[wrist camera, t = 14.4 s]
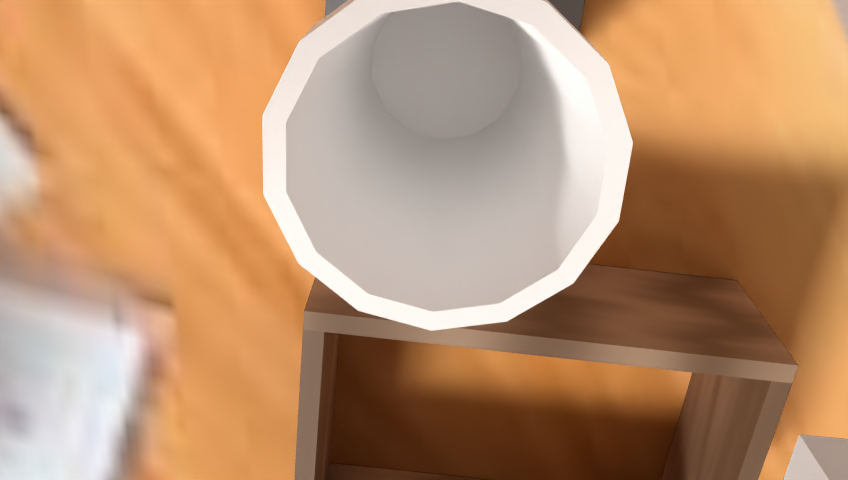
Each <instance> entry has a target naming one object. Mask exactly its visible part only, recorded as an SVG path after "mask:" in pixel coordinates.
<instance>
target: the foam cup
mask: <svg viewBox="0 0 848 480" xmlns="http://www.w3.org/2000/svg"><path fill="white" fill-rule="evenodd" d="M262 129H263V195H264V197H265V199H266V201H267V203H268V205H269V207H270V209H271V211H272V213H273V215H274V216H275V218H276V220H277V222H278V224H279V226H280V228H281V230H282V232H283V234H284V236H285V238H286V240H287V242H288V244H289V246H290V248H291V250H292V252H293V254H294V256H295V258H296V260H297V262H298V263H299V264H300V265H301V266H302V267H304V268H305V269H306V270H307V271H309V272H310V273H311V274H312V275H314V276H315V277H316V278H318V279H319V280H320V281H321V282H323V283H324V284H325V285H326V286H328V287H329V288H330V289H331V290H333V291H334V292H335V293H336V294H338V295H339V296H340V297H341V298H343V299H344V300H345V301H346V302H348V303H349V304H350V305H352V306H353V307H354V308H355V309H357V310H358V311H361V312H365V313H368V314H372V315H376V316H379V317H383V318H387V319H390V320H394V321H397V322H401V323H405V324H408V325H412V326H416V327H419V328H423V329H427V330H430V331H434V330H442V329H450V328H458V327H466V326H474V325H482V324H491V323H499V322H507V321H509V320H510V319H512V318H514V317H516V316H517V315H519V314H521V313H523V312H524V311H526V310H528V309H530V308H531V307H533V306H535V305H537V304H538V303H540V302H542V301H544V300H545V299H547V298H549V297H551V296H552V295H554V294H556V293H558V292H559V291H561V290H563V289H565V288H566V287H568V286H570V285H572V284H573V283H574V282H575V281H576V279H577V278H578V276H579V275H580V274H581V272H582V271H583V270H584V268H585V267H586V265H587V264H588V263H589V261H590V260H591V259H592V257H593V256H594V255H595V253H596V252H597V250H598V249H599V248H600V246H601V245H602V244H603V242H604V241H605V239H606V238H607V237H608V235H609V234H610V233H611V231H612V230H613V228H614V227H615V226H616V224H617V223H618V222H619V218H620V213H621V207H622V202H623V196H624V190H625V185H626V179H627V174H628V168H629V163H630V157H631V152H632V146H633V141H632V138H631V135H630V131H629V128H628V125H627V122H626V118H625V115H624V112H623V109H622V105H621V102H620V99H619V96H618V93H617V89H616V86H615V83H614V80H613V76H612V73H611V70H610V67H609V64H608V63H607V61H606V60H605V59H604V58H603V57H602V56H601V54H600V53H599V52H598V51H597V50H596V49H595V47H594V46H593V45H592V44H591V43H590V42H589V41H588V40H587V39H586V38H585V37H584V36H583V35H582V34H581V33H580V32H579V31H578V30H577V29H576V28H575V27H574V26H573V25H572V24H571V23H570V22H569V21H568V20H567V19H566V18H565V17H564V16H563V15H562V14H561V13H560V12H559V11H558V10H557V9H556V8H555V7H554V6H553V5H552V4H551V3H550V2H549V1H548V0H348V1H346V2H345V3H344V4H342V5H341V6H339V7H338V8H337V9H335V10H334V11H333V12H331V13H330V14H329V15H327V16H326V17H325V18H323V19H322V20H320V21H319V22H318V23H316V24H315V25H314V26H313V27H312V28H311V29H310V30H309V31H308V32H307V33H306V34H305V36H304V37H303V38H302V39H301V40H300V41H299V43H298V45H297V47H296V49H295V51H294V53H293V55H292V57H291V59H290V61H289V63H288V65H287V67H286V69H285V71H284V73H283V75H282V77H281V79H280V81H279V83H278V85H277V87H276V89H275V91H274V93H273V95H272V97H271V99H270V101H269V103H268V105H267V107H266V109H265V111H264V113H263V115H262Z"/></svg>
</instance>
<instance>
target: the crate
mask: <svg viewBox="0 0 848 480" xmlns="http://www.w3.org/2000/svg"><path fill="white" fill-rule="evenodd" d="M340 334H347V335H356V336H365V337H375V338H384V339H393V340H402V341H411V342H420V343H429V344H438V345H447V346H457V347H466V348H475V349H484V350H493V351H502V352H511V353H520V354H529V355H539V356H548V357H557V358H566V359H575V360H584V361H593V362H602V363H611V364H621V365H630V366H639V367H648V368H657V369H666V370H675V371H684V372H693V373H692V376H691V380H690V383H689V386H688V390H687V393H686V397H685V400H684V404H683V407H682V410H681V414H680V417H679V421H678V424H677V427H676V431H675V434H674V438H673V441H672V444H671V448H670V451H669V455H668V458H667V461H666V465H665V468H664V472H663V475H662V479H661V480H758V478H759V475H760V472H761V469H762V467H763V464H764V461H765V458H766V455H767V453H768V450H769V447H770V444H771V441H772V439H773V436H774V433H775V430H776V427H777V424H778V422H779V419H780V416H781V413H782V410H783V408H784V405H785V402H786V399H787V396H788V394H789V391H790V388H791V385H792V382H793V379H794V377H795V374H796V371H797V368H798V364H797V363H796V361H795V360H794V359H793V357H792V356H791V354H790V353H789V352H788V350H787V349H786V348H785V346H784V345H783V343H782V342H781V341H780V339H779V338H778V336H777V335H776V334H775V332H774V331H773V329H772V328H771V327H770V325H769V324H768V323H767V321H766V320H765V318H764V317H763V316H762V314H761V313H760V311H759V310H758V309H757V307H756V306H755V304H754V303H753V302H752V300H751V299H750V297H749V296H748V295H747V293H746V292H745V291H744V289H743V288H742V286H741V285H740V284H739V282H738V281H735V280H726V279H718V278H709V277H700V276H691V275H682V274H673V273H664V272H655V271H646V270H637V269H628V268H620V267H611V266H602V265H593V264H587V265H586V267H585V268H584V270H583V271H582V272H581V274H580V275H579V276H578V278H577V279H576V281H575V282H574V283H573V284H572V285H570V286H568V287H566V288H565V289H563V290H561V291H559V292H558V293H556V294H554V295H552V296H551V297H549V298H547V299H545V300H544V301H542V302H540V303H538V304H537V305H535V306H533V307H531V308H530V309H528V310H526V311H524V312H523V313H521V314H519V315H517V316H516V317H514V318H512V319H510V320H509V321H507V322H499V323H491V324H482V325H474V326H466V327H458V328H450V329H442V330H434V331H430V330H427V329H423V328H419V327H416V326H412V325H408V324H405V323H401V322H397V321H394V320H390V319H387V318H383V317H379V316H376V315H372V314H368V313H365V312H361V311H358V310H357V309H355V308H354V307H353V306H352V305H350V304H349V303H348V302H346V301H345V300H344V299H343V298H341V297H340V296H339V295H338V294H336V293H335V292H334V291H333V290H331V289H330V288H329V287H328V286H326V285H325V284H324V283H323V282H321V281H320V280H319V279H318V278H316V277H315V280H314V283H313V286H312V289H311V292H310V295H309V298H308V301H307V304H306V307H305V310H304V322H303V340H302V358H301V375H300V393H299V410H298V428H297V446H296V463H295V480H487V479H477V478H468V477H458V476H449V475H440V474H430V473H421V472H412V471H402V470H393V469H383V468H374V467H365V466H355V465H346V464H336V463H330V450H331V437H332V425H333V412H334V399H335V386H336V374H337V361H338V348H339V335H340Z"/></svg>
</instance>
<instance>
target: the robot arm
mask: <svg viewBox="0 0 848 480" xmlns="http://www.w3.org/2000/svg"><path fill="white" fill-rule="evenodd" d="M783 480H848V439H844V438H833V437H822V436H811V435H800V434H799V437H798V440H797V443H796V445H795V448H794V451H793V454H792V457H791V460H790V462H789V465H788V468H787V471H786V474H785V477H784V479H783Z"/></svg>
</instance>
